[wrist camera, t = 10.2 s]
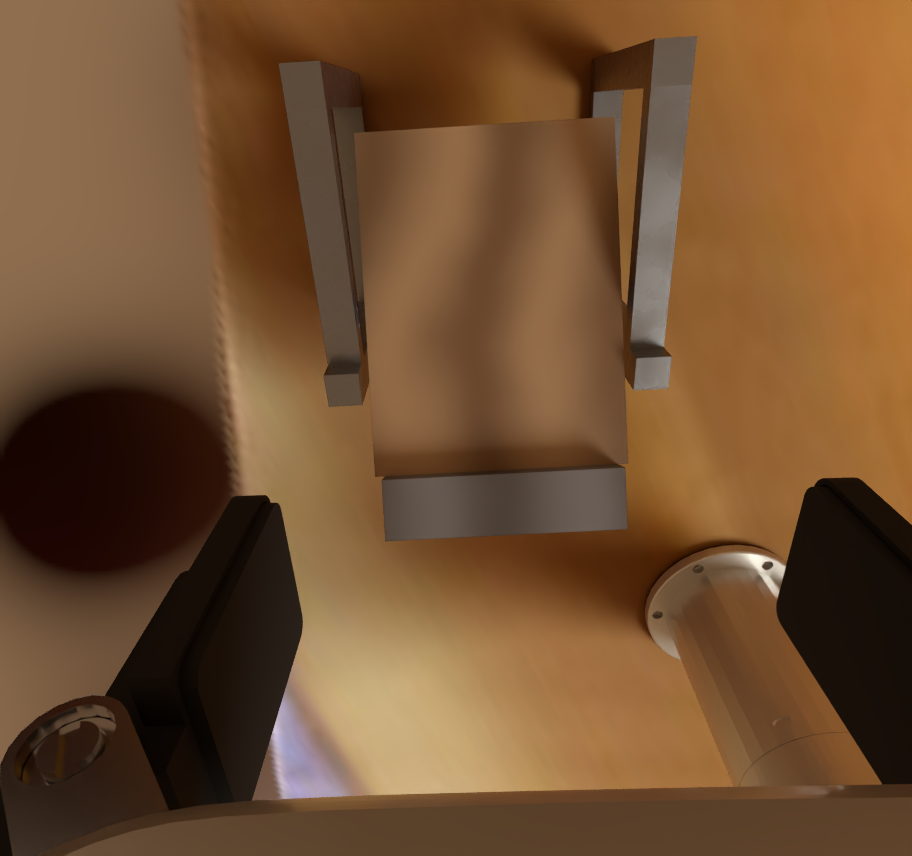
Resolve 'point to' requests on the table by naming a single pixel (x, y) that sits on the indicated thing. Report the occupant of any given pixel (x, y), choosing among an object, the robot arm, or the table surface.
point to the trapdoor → (494, 327)
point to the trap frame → (658, 180)
